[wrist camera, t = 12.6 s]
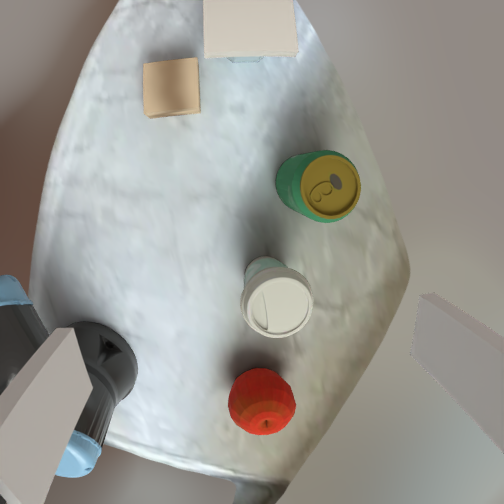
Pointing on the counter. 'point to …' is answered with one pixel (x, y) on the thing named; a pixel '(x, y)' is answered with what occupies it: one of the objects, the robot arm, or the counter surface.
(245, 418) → the apple
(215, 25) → the ceramic tile
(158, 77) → the cork block
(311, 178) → the beverage can
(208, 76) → the counter surface
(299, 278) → the coffee cup
